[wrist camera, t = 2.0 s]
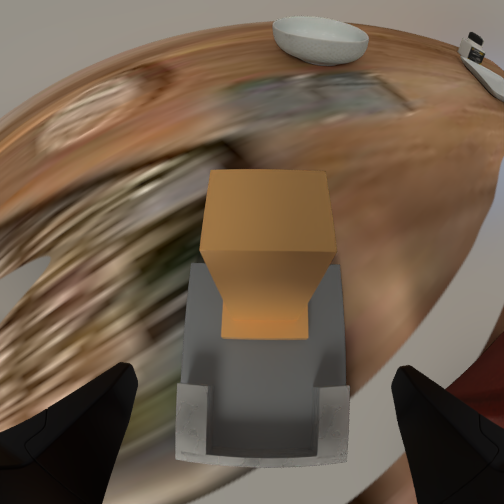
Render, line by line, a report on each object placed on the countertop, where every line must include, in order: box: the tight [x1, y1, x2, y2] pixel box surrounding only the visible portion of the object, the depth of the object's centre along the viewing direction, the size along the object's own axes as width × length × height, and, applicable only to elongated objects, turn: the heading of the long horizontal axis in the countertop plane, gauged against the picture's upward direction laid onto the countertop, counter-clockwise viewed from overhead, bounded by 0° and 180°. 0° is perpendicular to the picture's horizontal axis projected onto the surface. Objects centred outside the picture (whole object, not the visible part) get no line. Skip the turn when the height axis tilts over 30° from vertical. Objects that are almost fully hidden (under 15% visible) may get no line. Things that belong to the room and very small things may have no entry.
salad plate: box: [460, 56, 504, 102], centre depth 43 cm, size 21×21×3 cm
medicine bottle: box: [458, 32, 485, 65], centre depth 48 cm, size 7×7×12 cm
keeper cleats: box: [176, 383, 350, 468], centre depth 16 cm, size 6×11×2 cm, turn 88°
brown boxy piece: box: [200, 169, 337, 340], centre depth 17 cm, size 13×6×12 cm, turn 178°
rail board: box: [181, 263, 346, 449], centre depth 19 cm, size 15×12×1 cm
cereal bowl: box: [273, 16, 369, 66], centre depth 37 cm, size 17×17×7 cm
